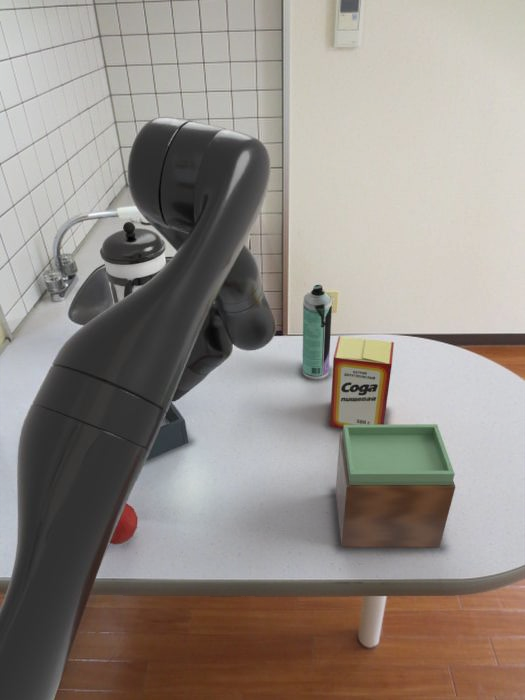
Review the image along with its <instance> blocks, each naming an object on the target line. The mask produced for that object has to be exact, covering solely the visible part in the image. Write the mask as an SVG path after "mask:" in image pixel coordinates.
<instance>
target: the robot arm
mask: <svg viewBox="0 0 525 700" xmlns="http://www.w3.org/2000/svg"><path fill="white" fill-rule="evenodd" d="M271 172H272V163H271V156H270V154H269V150H268V148H267V147H266V145H265V144H264V142H262V141H261V140H260V139H259V138H256V137H254V136H252V135H249V134H247V133H244V132H241V131H238V130H234V129H228V128H225V127H222V126H221V127H220V126H216V125H212V124H208V123H203V122H200V121H196V120H191V119H187V118H180V117H173V116H160V117H155V118H153V119H151V120H149V121H148V122H146V123H145V124H144V125H143V126H142V127H141V128H140V130H139V131H138V133H137V135H136V137H135V138H134V141H133V142H132V145H131V149H130V151H129V155H128V162H127V183H128V189H129V193H130V197H131V199H132V202H133V203H134V205H135V208H137V211H138V212H139V213H140V214H141V216H142V217H143V218H144V219H145V220H146V222H148V223H149V224H150V225H151V227H153V228H154V229H155V230H156V231H157V232H158V233H159V235H161V236H162V238H164V240H165V241H166V242H168V243H169V245H170V246H171V247H172V248H173V249H174V250H175V251H176V253H175V254H174V255H173V256H172V258H171V259H170V260H169V261H168V262H167V265H166V266H165V267H164V268H163V269H162V270H161V271H160V272H159V273H158V274H157V275H155V276H154V277H153V278H152V279H151V280H150V281H148V282H147V283H145V284H144V285H143V286H141V287H140V288H138V289H137V290H136V291H134V292H132V293H131V294H129V295H128V296H126V297H125V298H123V299H122V300H120V301H119V302H117V303H116V304H114V303H113V304H112V305H111V306H109V307H108V308H107V309H105V310H104V311H102V312H100V313H99V314H98V315H97V316H95V317H94V318H92V319H91V320H89V321H88V322H87V323H85V324H84V325H82V326H81V327H80V328H79V329H78V330H77V331H75V332H74V334H72V335H71V336H70V337H69V338H68V339H67V340H66V341H65V343H64V344H63V345H62V346H61V347H60V349H59V351H58V353H57V354H56V356H55V358H54V360H53V362H52V363H51V364H52V365H50V367H49V369H48V371H47V374H46V375H45V377H44V379H43V380H42V383H41V385H40V387H39V389H38V391H37V393H36V395H35V397H34V398H33V401H32V404H30V406H29V409H28V411H27V412H26V415H25V417H24V420H23V423H22V426H21V429H20V434H19V439H18V440H19V441H18V447H17V461H16V465H17V467H16V489H17V490H16V495H17V538H16V539H17V540H16V550H15V557H14V564H13V567H12V573H11V577H10V580H9V583H8V586H7V589H6V593H5V595H4V598H3V600H2V603H1V606H0V700H55V697H56V695H57V692H58V689H59V686H60V684H61V680H62V678H63V675H64V672H65V669H66V666H67V663H68V660H69V657H70V654H71V651H72V648H73V645H74V642H75V639H76V636H77V633H78V630H79V628H80V625H81V621H82V619H83V617H84V616H83V615H84V614H85V610H86V607H87V604H88V601H89V598H90V596H91V593H92V590H93V587H94V585H95V582H96V578H97V576H98V573H99V571H100V568H101V565H102V563H103V560H104V557H105V555H106V552H107V550H108V549H109V546H110V541H111V538H112V536H113V533H114V531H115V529H116V526H117V524H118V521H119V519H120V517H121V514H122V512H123V510H124V507H125V505H126V503H127V504H128V501H129V498H130V495H131V494H132V491H133V489H134V487H135V485H136V482H137V481H138V478H139V476H140V474H141V472H142V470H143V468H144V466H145V464H146V462H147V461H148V460H147V457H148V455H149V453H150V450H151V449H152V446H153V444H154V442H155V439H156V437H157V435H158V432H159V430H160V428H161V426H163V423H164V421H165V419H166V417H165V416H166V413H167V412H168V409H169V407H170V404H171V402H172V403H174V402H176V401H178V400H180V399H181V398H183V397H184V396H185V395H186V394H188V393H189V392H190V391H192V389H194V388H195V387H196V386H198V385H199V384H200V383H202V382H203V381H204V380H205V379H206V378H207V377H208V375H210V374H211V373H212V372H213V371H215V369H217V368H218V367H219V366H221V365H222V364H224V362H226V361H227V360H228V359H229V358H230V356H231V355H232V352H233V350H234V347H235V348H237V349H240V350H242V351H247V352H250V351H251V352H252V351H257V350H260V349H263V348H264V347H266V346H267V345H268V344H269V343H270V342H272V340H273V339H274V337H275V335H276V332H277V326H278V325H277V320H276V317H275V315H274V312H273V310H272V308H271V305H270V303H269V301H268V299H267V296H266V293H265V290H264V284H263V278H262V274H261V270H260V266H259V264H258V262H257V260H256V257H255V255H254V254H253V252H252V250H251V249H250V248H249V247H248V246H247V244H246V242H247V241H248V239H249V237H250V235H251V232H252V230H253V228H254V226H255V225H256V222H257V220H258V217H259V215H260V213H261V210H262V208H263V205H264V204H265V201H266V196H267V193H268V189H269V185H270V180H271V174H272V173H271ZM146 460H147V461H146Z"/></svg>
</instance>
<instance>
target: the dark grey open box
mask: <svg viewBox="0 0 525 700" xmlns="http://www.w3.org/2000/svg"><path fill="white" fill-rule="evenodd" d="M165 419H166V420H167V421H168V423H166V424H162V426H161V428H160V430H159V432H158V435H157V437H156V439H155V442H154V444H153V446H152V449H151V450H150V453H149V455H148V457H147V460H146V462H147V461H149V460H151V459H154V458H156V457H158V456H161V455H163V454H165V453H168V452H170V451H172V450H175V449H177V448H180V447H181V446H184V445H187V444H189V437H188V432H187V426H186V425H187V424H186V419H185V418H184V417H183V415H182V414H181V412H180V411H179V410H178V409H177V407H176V405H175V404H174V402H171V404H170V407H169V409H168V412H167V413H166V416H165Z"/></svg>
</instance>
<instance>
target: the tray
mask: <svg viewBox="0 0 525 700" xmlns="http://www.w3.org/2000/svg"><path fill="white" fill-rule="evenodd" d="M342 434H343V441H344V449H345V456H346V463H347V471H348V478H349V485H452V482H453V481H454V478H455V470H454V468H453V465H452V463H451V460H450V456H449V454H448V451H447V448H446V445H445V443H444V439H443V438H442V437H443V436H442V434H441V432H440V428H439V426H438V424H437V423H433V424H432V423H424V424H422V423H421V424H418V423H417V424H415V423H412V424H410V423H408V424H404V423H403V424H402V423H401V424H400V423H399V424H384V425H343V428H342Z"/></svg>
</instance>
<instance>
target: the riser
mask: <svg viewBox="0 0 525 700" xmlns="http://www.w3.org/2000/svg"><path fill="white" fill-rule="evenodd" d="M337 451H338V454H337V468H336V481H335V501H336V509H337V519H338V528H339V536H340V537H339V538H340V539H339V540H340V547H341V548H440V547H441V543H442V539H443V536H444V532H445V528H446V526H447V525H446V524H447V521H448V517H449V513H450V510H451V507H452V503H453V498H454V494H455V491H456V484H455V481H454V480H453V482H452V485H349V478H348V471H347V463H346V456H345V449H344V441H343V433H340V434H339V436H338V450H337Z"/></svg>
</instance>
